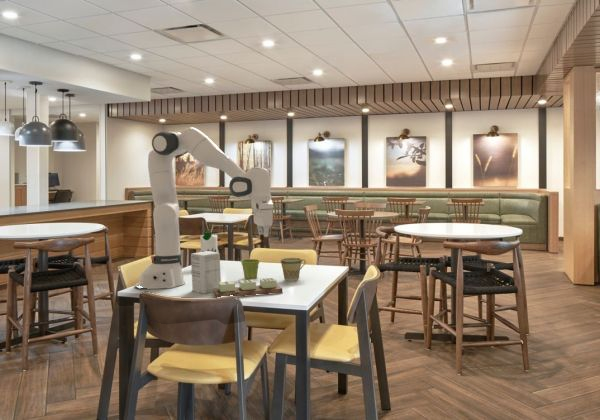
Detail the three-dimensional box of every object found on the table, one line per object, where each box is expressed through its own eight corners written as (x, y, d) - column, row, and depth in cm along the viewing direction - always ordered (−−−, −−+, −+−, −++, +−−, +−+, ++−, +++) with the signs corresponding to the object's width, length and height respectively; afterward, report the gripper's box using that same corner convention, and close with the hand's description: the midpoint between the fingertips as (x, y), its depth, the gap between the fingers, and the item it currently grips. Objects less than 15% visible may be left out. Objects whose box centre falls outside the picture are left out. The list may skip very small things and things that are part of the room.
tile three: (262, 288, 213) (262, 281, 213) (259, 285, 219) (259, 278, 218) (276, 287, 215) (276, 280, 215) (273, 284, 220) (273, 277, 220)
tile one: (220, 292, 208) (220, 284, 207) (218, 289, 213) (218, 281, 213) (235, 290, 209) (234, 283, 209) (232, 287, 215) (232, 280, 215)
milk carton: (199, 268, 277) (198, 232, 276) (205, 265, 286) (204, 230, 285) (214, 268, 276) (213, 232, 275) (219, 265, 285) (218, 230, 284)
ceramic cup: (287, 282, 234) (287, 261, 234) (277, 279, 243) (277, 259, 242) (311, 279, 241) (310, 259, 240) (300, 276, 249) (300, 256, 249)
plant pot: (257, 280, 242) (256, 262, 241) (238, 279, 244) (238, 262, 243) (262, 276, 251) (262, 259, 251) (244, 276, 253) (244, 259, 253)
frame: (216, 298, 205) (216, 293, 205) (213, 293, 215) (213, 289, 215) (282, 292, 214) (282, 288, 213) (276, 288, 223) (276, 283, 223)
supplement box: (209, 287, 228) (208, 250, 227) (221, 290, 222) (220, 252, 221) (191, 290, 221) (190, 253, 220) (203, 293, 215) (202, 255, 214)
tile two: (242, 290, 210) (241, 282, 210) (239, 287, 216) (239, 280, 216) (256, 289, 212) (255, 281, 212) (253, 286, 218) (252, 279, 218)
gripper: (249, 203, 227) (251, 234, 228) (259, 205, 207) (261, 238, 208) (262, 202, 229) (264, 232, 230) (274, 204, 209) (276, 237, 210)
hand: (263, 235), depth 219 cm, fingers open, 8 cm apart
